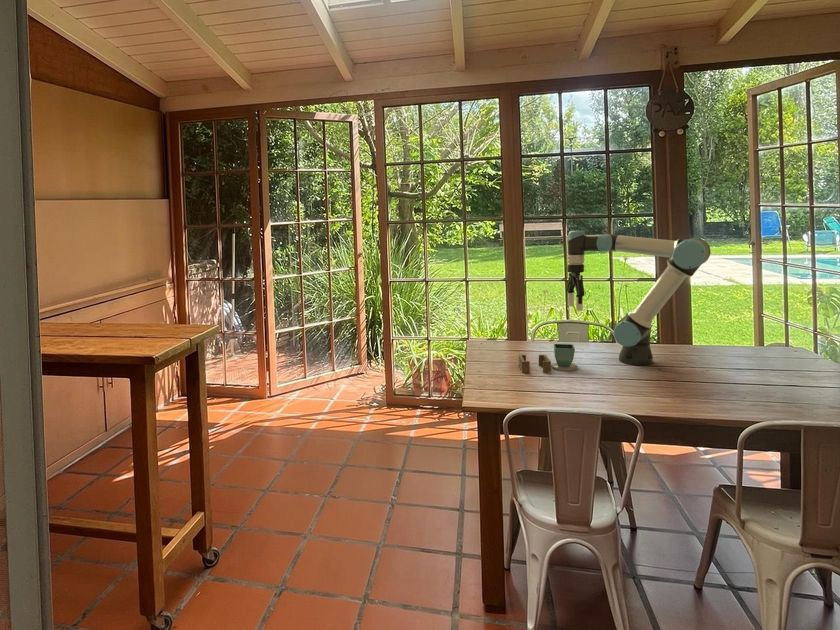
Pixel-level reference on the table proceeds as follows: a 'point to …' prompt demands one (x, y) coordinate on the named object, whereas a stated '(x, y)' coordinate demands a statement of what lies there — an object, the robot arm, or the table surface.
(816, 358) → the table surface
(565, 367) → the olive beige round disc
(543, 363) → the frame
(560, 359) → the flower pot
